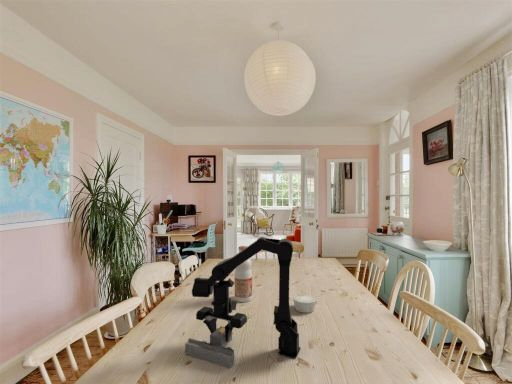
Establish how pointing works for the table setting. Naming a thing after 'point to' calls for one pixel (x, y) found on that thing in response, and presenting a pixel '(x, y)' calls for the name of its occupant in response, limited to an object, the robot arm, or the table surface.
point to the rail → (210, 352)
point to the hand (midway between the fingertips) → (221, 339)
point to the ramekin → (304, 303)
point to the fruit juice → (243, 280)
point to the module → (219, 337)
